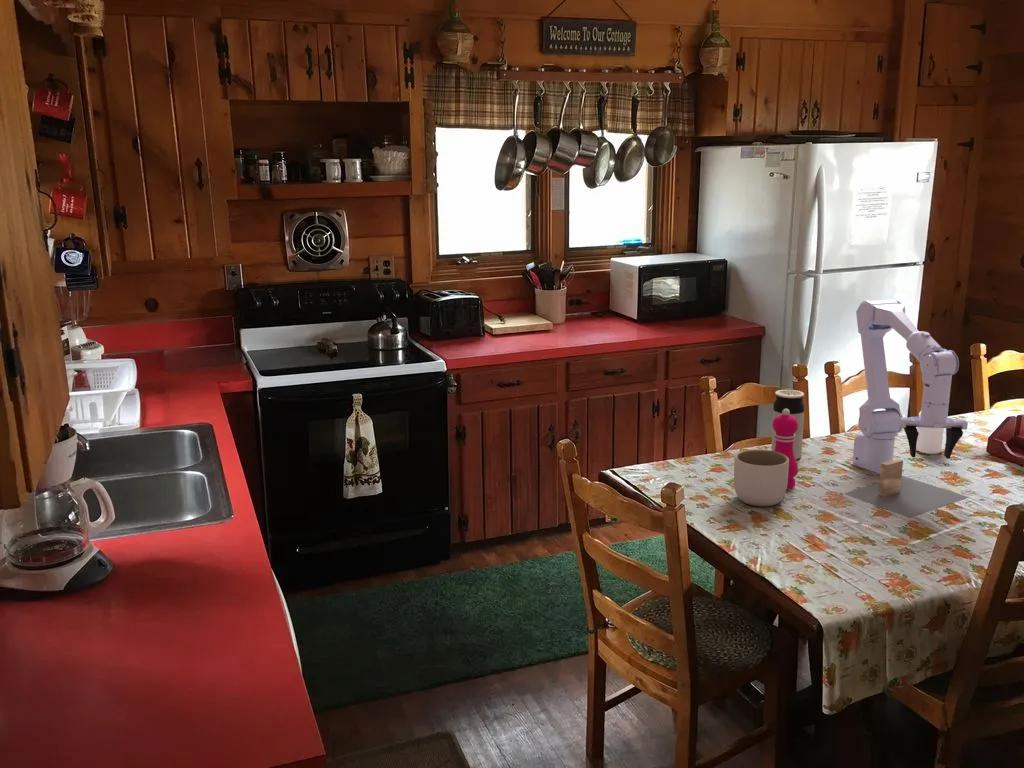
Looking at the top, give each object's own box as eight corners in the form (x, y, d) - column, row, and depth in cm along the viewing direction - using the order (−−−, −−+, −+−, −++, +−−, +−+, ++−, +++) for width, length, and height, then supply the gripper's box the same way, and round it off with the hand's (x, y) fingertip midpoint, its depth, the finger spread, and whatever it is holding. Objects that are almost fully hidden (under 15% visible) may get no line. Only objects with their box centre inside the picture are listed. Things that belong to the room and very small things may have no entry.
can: (945, 454, 241) (949, 412, 238) (921, 454, 241) (925, 412, 238) (934, 447, 247) (938, 405, 244) (911, 447, 247) (915, 406, 244)
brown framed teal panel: (877, 494, 213) (880, 463, 211) (894, 489, 215) (896, 458, 214) (884, 496, 211) (887, 465, 209) (900, 491, 214) (903, 460, 212)
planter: (771, 514, 203) (773, 469, 201) (723, 502, 212) (724, 458, 209) (795, 499, 212) (798, 456, 210) (748, 487, 220) (750, 445, 218)
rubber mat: (843, 495, 214) (843, 493, 214) (901, 477, 225) (901, 475, 225) (910, 519, 199) (910, 517, 199) (968, 499, 210) (968, 497, 210)
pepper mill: (781, 492, 217) (785, 414, 212) (760, 483, 223) (764, 407, 218) (803, 487, 220) (808, 410, 215) (782, 478, 226) (786, 403, 221)
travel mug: (776, 449, 248) (780, 387, 244) (805, 454, 244) (809, 391, 239) (766, 457, 242) (769, 394, 237) (795, 462, 237) (799, 398, 233)
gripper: (906, 405, 205) (901, 460, 208) (974, 407, 202) (967, 463, 206) (899, 397, 212) (894, 451, 215) (964, 399, 209) (958, 453, 212)
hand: (929, 456), depth 211 cm, fingers open, 7 cm apart
